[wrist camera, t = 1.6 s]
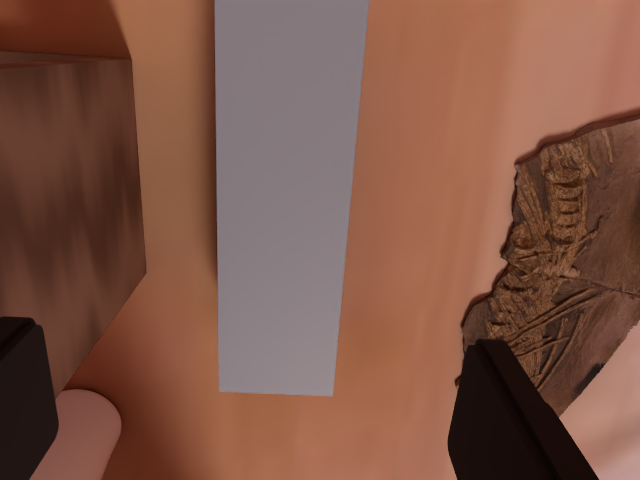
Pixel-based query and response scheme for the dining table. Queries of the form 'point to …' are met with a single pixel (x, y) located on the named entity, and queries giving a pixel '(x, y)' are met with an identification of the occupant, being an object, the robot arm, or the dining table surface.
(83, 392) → the drinking glass
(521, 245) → the wooden fragment
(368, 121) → the dining table surface
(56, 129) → the shelf unit
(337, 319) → the shelf board
